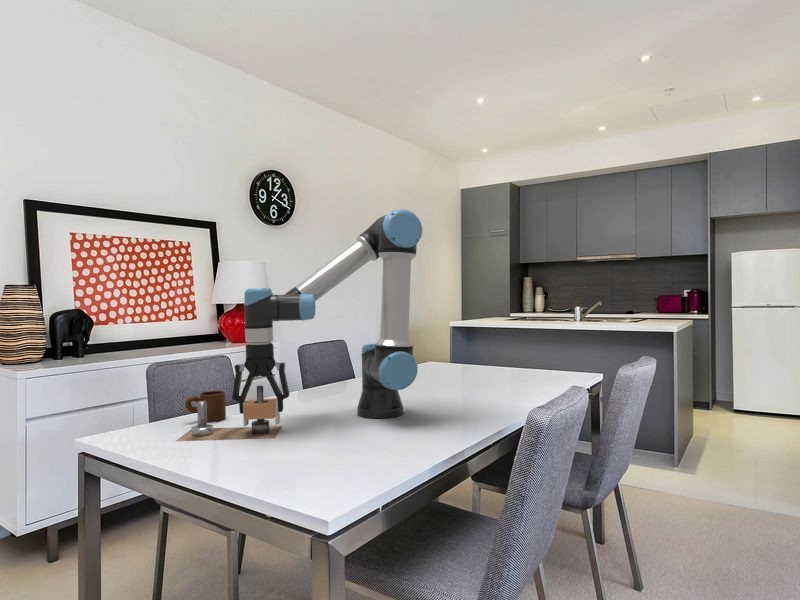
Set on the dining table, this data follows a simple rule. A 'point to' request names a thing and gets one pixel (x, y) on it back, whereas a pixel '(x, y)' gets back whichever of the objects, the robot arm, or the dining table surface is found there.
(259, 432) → the stand
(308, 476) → the dining table surface
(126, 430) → the dining table surface
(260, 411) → the square wooden nut
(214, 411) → the mug
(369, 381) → the robot arm
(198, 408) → the grey metal post
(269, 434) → the board
